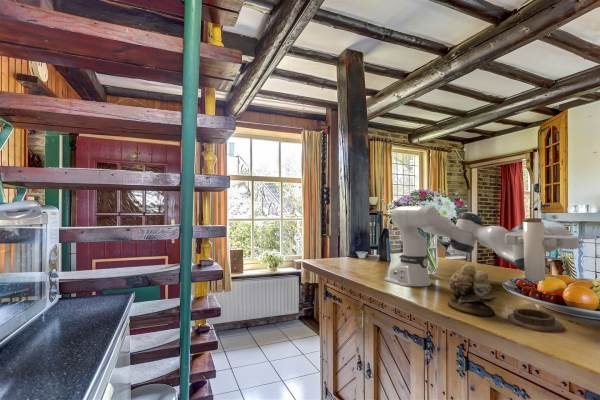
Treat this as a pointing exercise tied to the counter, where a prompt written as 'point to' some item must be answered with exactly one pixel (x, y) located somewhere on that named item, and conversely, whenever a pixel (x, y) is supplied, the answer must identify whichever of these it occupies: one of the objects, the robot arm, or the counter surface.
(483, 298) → the owl figurine
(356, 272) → the counter surface
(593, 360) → the counter surface
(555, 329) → the groove tray
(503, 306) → the counter surface
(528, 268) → the off-white tall cylinder
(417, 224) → the robot arm
